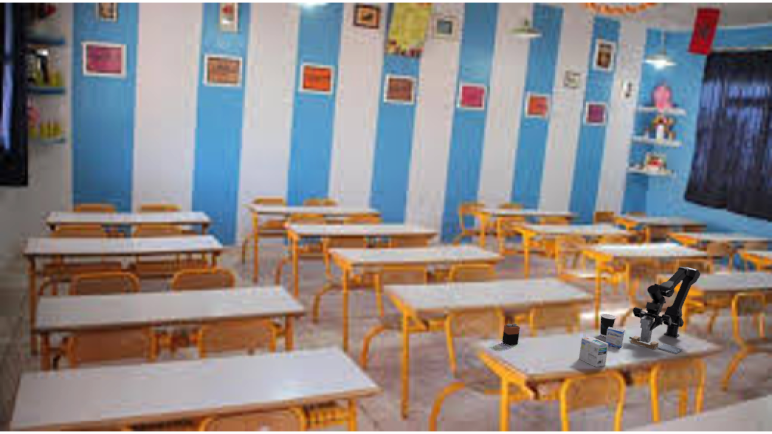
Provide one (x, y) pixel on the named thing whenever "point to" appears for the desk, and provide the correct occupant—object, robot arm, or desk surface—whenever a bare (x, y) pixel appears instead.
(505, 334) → the battery
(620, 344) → the medicine box
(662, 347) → the mat
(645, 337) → the grey stone block
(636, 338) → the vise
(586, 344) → the light bulb box
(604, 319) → the dixie cup
